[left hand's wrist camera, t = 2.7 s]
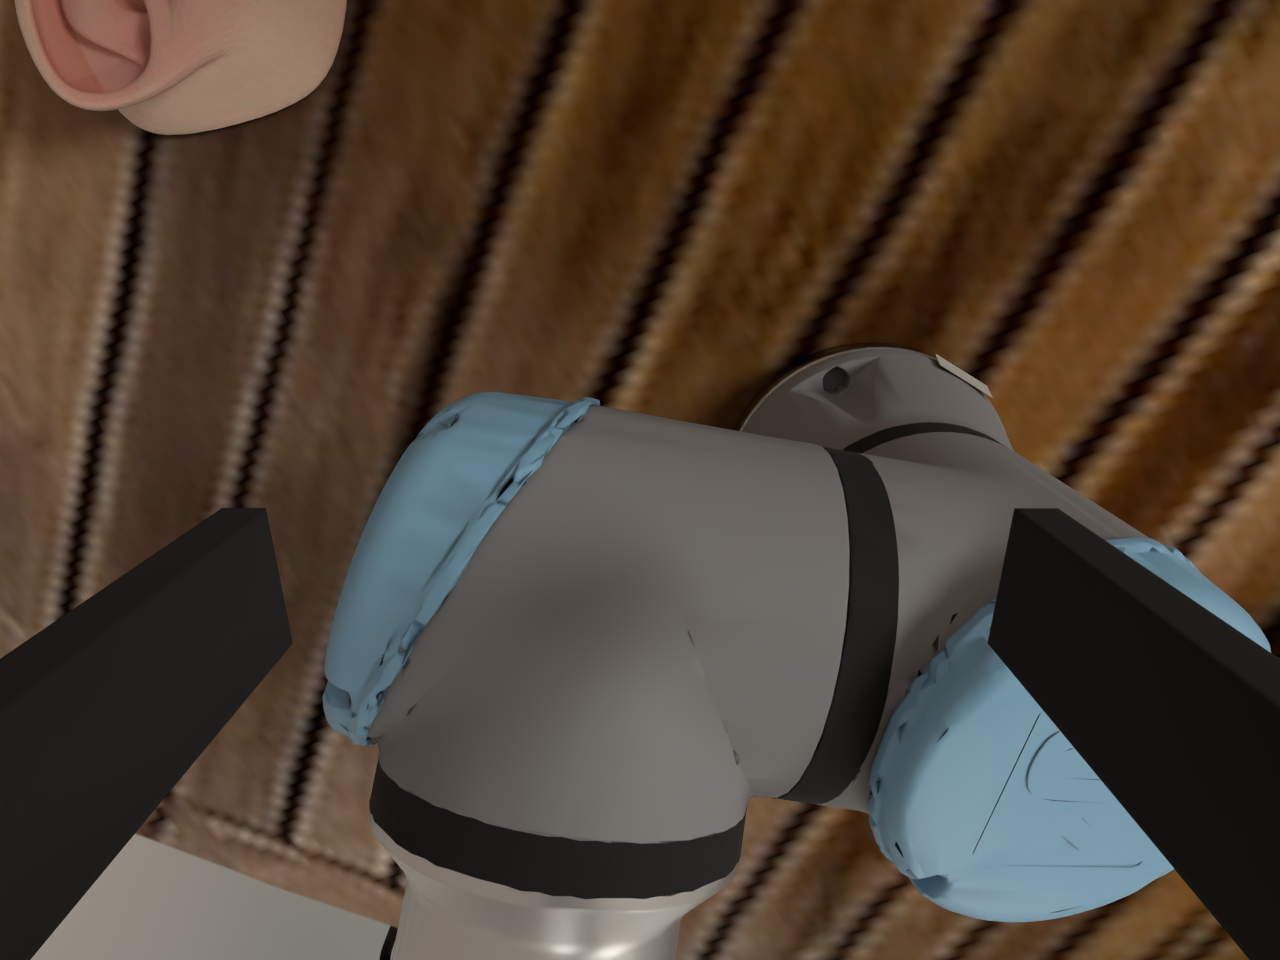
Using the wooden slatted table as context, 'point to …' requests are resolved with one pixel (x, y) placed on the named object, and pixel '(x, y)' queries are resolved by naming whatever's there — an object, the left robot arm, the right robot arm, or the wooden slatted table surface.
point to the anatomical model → (182, 56)
